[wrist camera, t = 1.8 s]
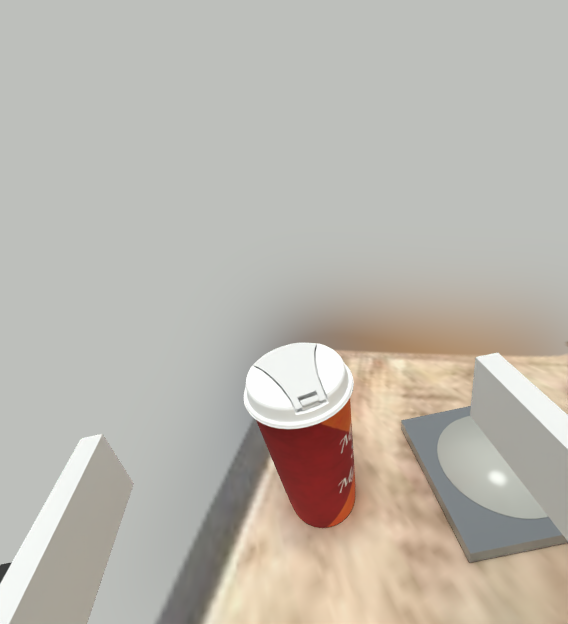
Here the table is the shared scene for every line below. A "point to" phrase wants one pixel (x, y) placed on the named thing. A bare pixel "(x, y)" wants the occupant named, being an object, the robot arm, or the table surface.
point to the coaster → (477, 487)
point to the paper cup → (307, 427)
